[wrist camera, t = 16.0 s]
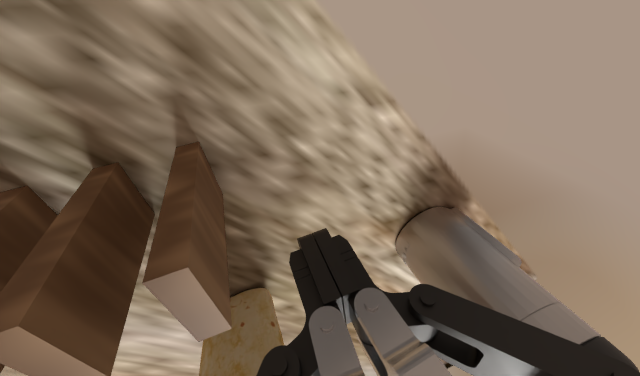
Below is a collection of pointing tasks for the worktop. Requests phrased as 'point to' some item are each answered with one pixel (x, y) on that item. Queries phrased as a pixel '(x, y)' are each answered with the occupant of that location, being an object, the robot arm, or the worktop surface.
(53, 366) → the domino
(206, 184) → the domino
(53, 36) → the worktop surface
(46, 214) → the domino
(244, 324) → the food model
